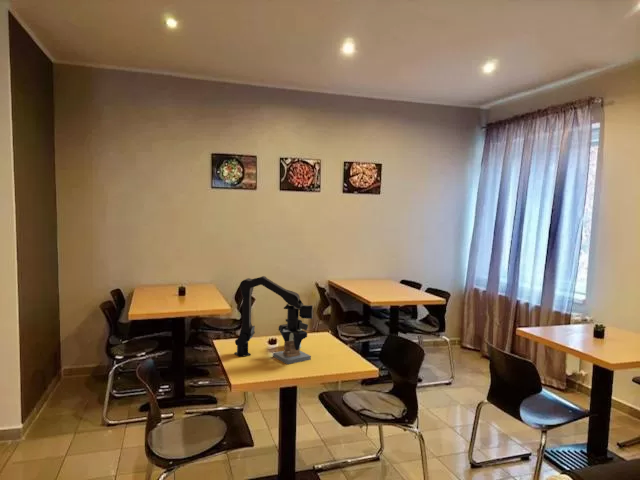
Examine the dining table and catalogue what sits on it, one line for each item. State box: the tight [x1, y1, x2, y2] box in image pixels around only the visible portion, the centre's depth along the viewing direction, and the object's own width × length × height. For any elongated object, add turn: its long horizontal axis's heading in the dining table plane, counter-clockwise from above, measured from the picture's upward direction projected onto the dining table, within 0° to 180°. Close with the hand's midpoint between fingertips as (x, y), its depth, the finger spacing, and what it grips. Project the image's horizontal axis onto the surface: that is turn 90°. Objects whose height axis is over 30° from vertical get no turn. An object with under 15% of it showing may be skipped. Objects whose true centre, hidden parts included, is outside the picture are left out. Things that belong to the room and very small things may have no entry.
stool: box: [282, 340, 301, 357], centre depth 233 cm, size 7×6×6 cm
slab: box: [272, 350, 312, 365], centre depth 233 cm, size 14×14×2 cm
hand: (292, 347), depth 233 cm, fingers open, 9 cm apart
